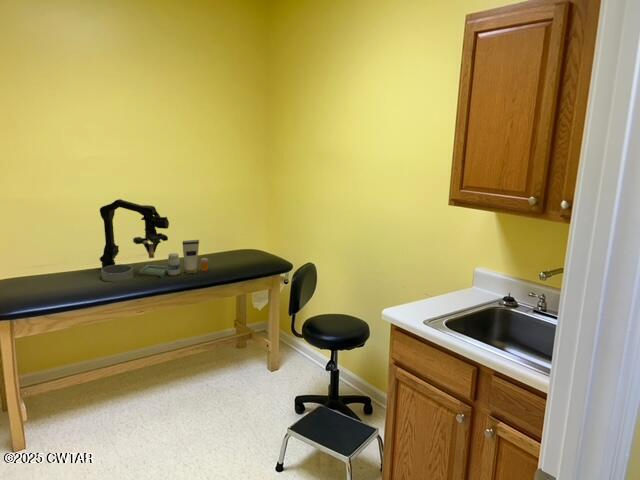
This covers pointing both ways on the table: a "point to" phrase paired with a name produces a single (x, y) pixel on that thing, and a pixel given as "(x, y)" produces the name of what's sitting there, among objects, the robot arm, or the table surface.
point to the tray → (154, 270)
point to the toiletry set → (186, 259)
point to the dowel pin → (151, 250)
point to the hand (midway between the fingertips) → (151, 252)
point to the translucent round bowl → (117, 273)
